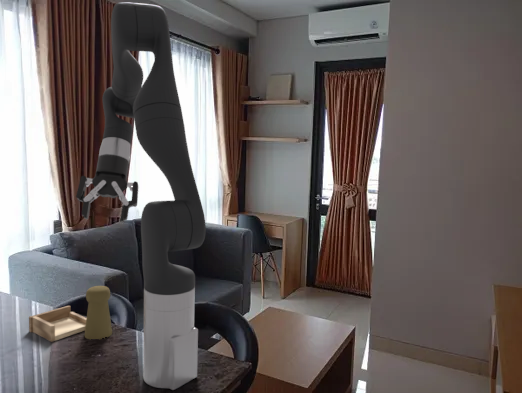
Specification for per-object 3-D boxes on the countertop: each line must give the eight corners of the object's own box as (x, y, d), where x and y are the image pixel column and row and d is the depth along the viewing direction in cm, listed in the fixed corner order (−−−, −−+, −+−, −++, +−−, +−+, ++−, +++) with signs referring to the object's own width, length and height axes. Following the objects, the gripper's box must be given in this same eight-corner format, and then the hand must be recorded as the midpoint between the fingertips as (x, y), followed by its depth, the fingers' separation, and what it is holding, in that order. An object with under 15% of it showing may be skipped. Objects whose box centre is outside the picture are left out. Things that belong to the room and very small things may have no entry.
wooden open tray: (91, 328, 101) (91, 313, 101) (49, 342, 93) (49, 327, 93) (70, 318, 106) (70, 304, 106) (29, 331, 98) (28, 316, 98)
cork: (116, 329, 101) (116, 284, 100) (105, 340, 95) (104, 292, 94) (92, 327, 102) (91, 282, 101) (78, 338, 96) (78, 290, 95)
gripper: (82, 149, 106) (70, 213, 101) (141, 156, 108) (133, 218, 103) (87, 161, 113) (76, 221, 108) (143, 167, 115) (135, 226, 110)
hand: (104, 220), depth 106 cm, fingers open, 8 cm apart
